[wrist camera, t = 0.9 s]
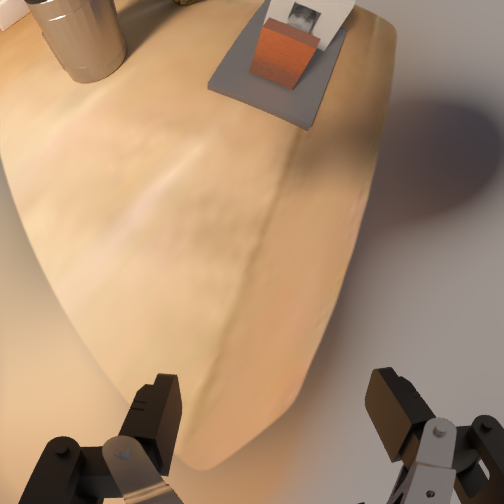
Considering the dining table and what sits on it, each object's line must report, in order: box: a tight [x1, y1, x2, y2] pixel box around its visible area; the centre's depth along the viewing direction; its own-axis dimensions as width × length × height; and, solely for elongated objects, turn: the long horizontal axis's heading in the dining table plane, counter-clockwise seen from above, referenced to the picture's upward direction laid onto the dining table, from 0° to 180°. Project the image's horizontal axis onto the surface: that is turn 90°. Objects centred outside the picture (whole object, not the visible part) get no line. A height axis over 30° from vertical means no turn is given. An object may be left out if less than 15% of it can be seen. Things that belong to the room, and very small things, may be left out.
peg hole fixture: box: [208, 0, 356, 131], centre depth 30 cm, size 14×22×12 cm, turn 158°
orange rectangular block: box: [249, 5, 321, 90], centre depth 29 cm, size 6×11×9 cm, turn 158°
